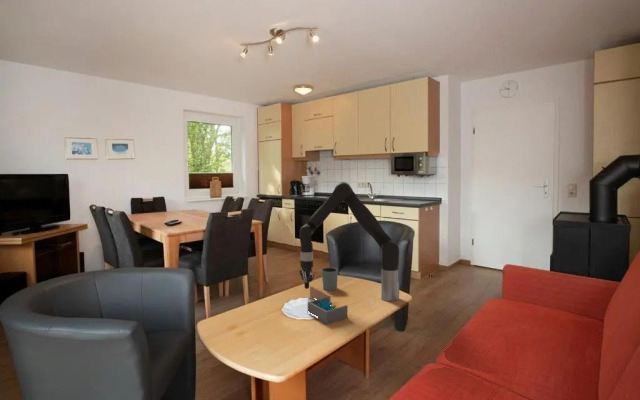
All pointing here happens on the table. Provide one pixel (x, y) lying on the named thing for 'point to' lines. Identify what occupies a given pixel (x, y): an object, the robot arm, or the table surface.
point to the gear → (326, 305)
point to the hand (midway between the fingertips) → (306, 288)
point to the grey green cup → (329, 278)
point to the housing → (327, 315)
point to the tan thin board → (318, 294)
